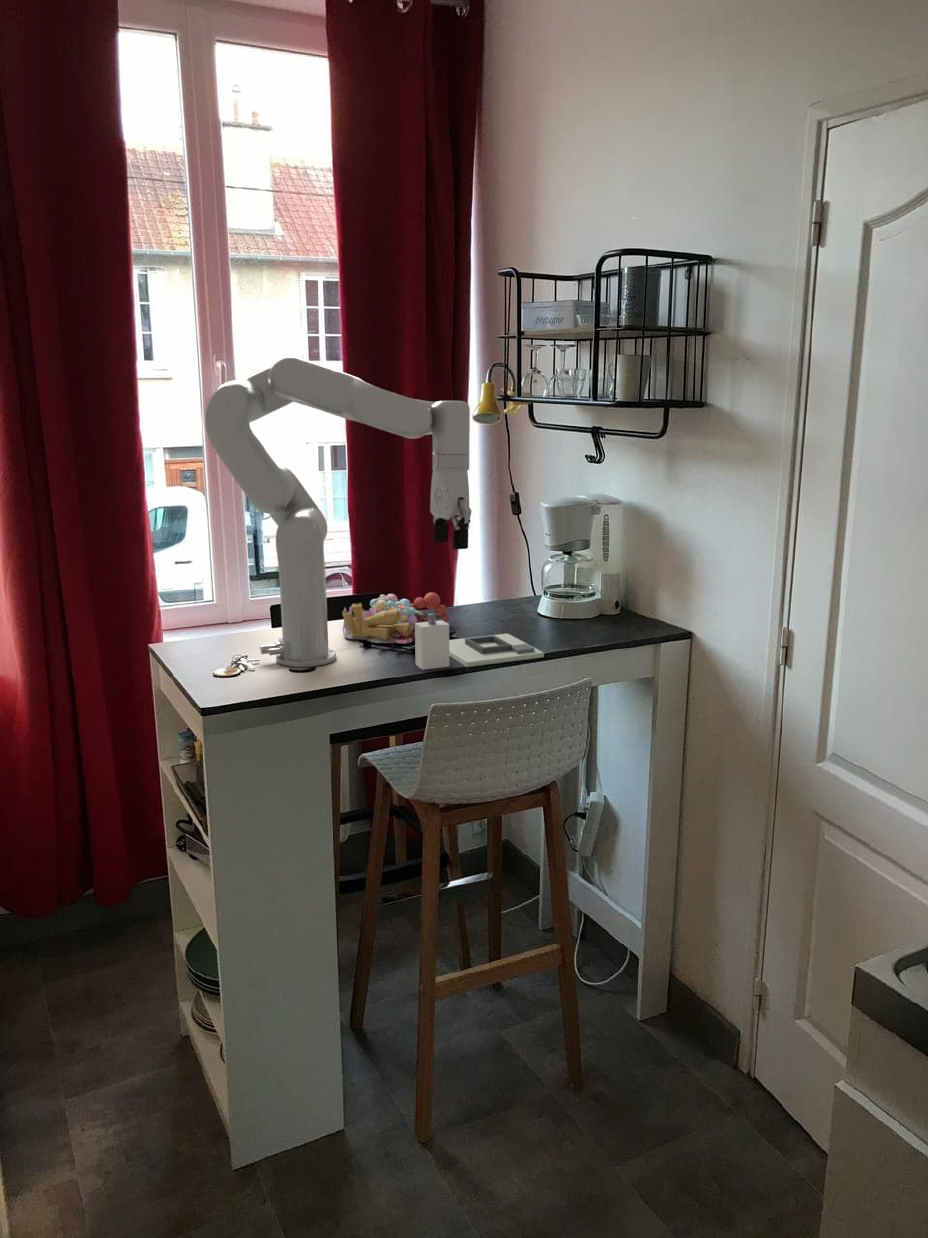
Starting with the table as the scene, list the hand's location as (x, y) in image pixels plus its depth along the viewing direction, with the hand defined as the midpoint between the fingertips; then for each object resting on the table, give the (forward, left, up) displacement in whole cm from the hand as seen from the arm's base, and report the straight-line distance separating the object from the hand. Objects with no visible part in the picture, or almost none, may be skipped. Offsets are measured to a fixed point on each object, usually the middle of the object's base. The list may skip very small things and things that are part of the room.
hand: (450, 545), depth 203 cm
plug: (-6, -4, -24) cm, 25 cm away
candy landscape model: (-4, +26, -25) cm, 36 cm away
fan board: (+9, +1, -24) cm, 26 cm away
